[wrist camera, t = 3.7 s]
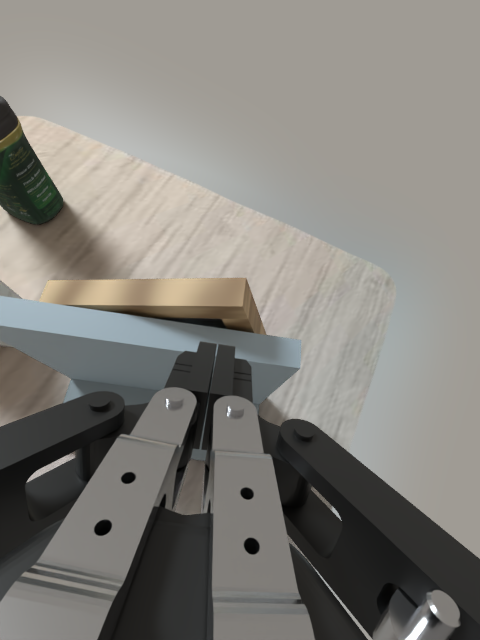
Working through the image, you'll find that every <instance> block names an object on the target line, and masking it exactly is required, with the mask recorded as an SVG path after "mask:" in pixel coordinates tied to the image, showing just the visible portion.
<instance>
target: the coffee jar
mask: <svg viewBox="0 0 480 640" xmlns="http://www.w3.org/2000/svg"><path fill="white" fill-rule="evenodd" d="M0 205H1V206H2V207H3V209H4V210H5V211H7V212H8V213H10V214H11V215H13V216H15V217H17V218H19V219H21V220H23V221H26V222H28V223H32V224H42V223H45V222H47V221H49V220H51V219H52V218H53V217H54V216H56V215H57V214H58V212H59V211H60V210H61V208H62V206H63V198H62V196H61V194H60V193H59V191H58V189H57V188H56V186H55V184H54V183H53V181H52V180H51V178H50V177H49V175H48V173H47V172H46V170H45V169H44V167H43V165H42V164H41V162H40V160H39V159H38V157H37V156H36V154H35V152H34V151H33V149H32V147H31V146H30V144H29V142H28V140H27V139H26V137H25V135H24V132H23V130H22V127H21V124H20V122H19V119H18V118H17V116H16V115H15V113H14V112H13V110H12V109H11V108H10V106H9V104H8V103H7V102H6V100H5V99H4V98H3V97H1V96H0Z"/></svg>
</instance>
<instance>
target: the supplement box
mask: <svg viewBox="0 0 480 640" xmlns="http://www.w3.org/2000/svg"><path fill="white" fill-rule="evenodd" d="M0 296H5V297H12V298H19V299H22V298H21V297H20V296H19V295H18V294H16V293H15V292H14V291H13V290H11V289H10V288H9V287H8V286H7V285H5V284H4V283H3V282H2V281H1V280H0ZM0 346H8V347H12V346H10V345H8V344H6V343H5V342H3V341H1V340H0Z"/></svg>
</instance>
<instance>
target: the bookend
mask: <svg viewBox="0 0 480 640" xmlns="http://www.w3.org/2000/svg"><path fill="white" fill-rule="evenodd" d="M0 340H1V341H3V342H5V343H6V344H8V345H10V346H12V347H14V348H16V349H18V350H19V351H21V352H23V353H25V354H27V355H29V356H30V357H32V358H34V359H36V360H38V361H40V362H42V363H43V364H45V365H47V366H49V367H51V368H53V369H54V370H56V371H58V372H60V373H62V374H64V375H65V376H67V377H69V378H71V381H70V384H69V387H68V390H67V393H66V396H65V399H64V402H63V403H65V402H67V401H70V400H73V399H75V398H78V397H81V396H83V395H86V394H89V393H92V392H97V391H109V392H114V393H117V394H119V395H120V396H121V397H122V398H123V399H124V402H125V405H138V404H144V403H148V402H150V401H151V399H152V397H153V396H154V394H155V393H156V392H158V391H160V390H162V389H164V387H165V385H166V382H167V380H168V378H169V375H170V373H171V371H172V368H173V366H174V364H175V361H176V359H177V356H178V355H180V354H181V353H183V352H184V351H191V352H197V349H198V346H199V342H200V341H202V342H209V343H216V344H217V348H216V355H217V350H218V344H223V345H229V346H235V358H238V359H245V360H247V361H248V363H249V364H250V366H251V368H252V395H253V405H254V406H255V408H256V410H257V414H258V413H259V404H260V403H261V402H262V401H264V400H265V399H266V398H267V397H268V396H269V395H270V394H272V393H273V392H274V391H275V390H276V389H277V388H278V387H280V386H281V385H282V384H283V383H284V382H285V381H286V380H287V379H289V378H290V377H291V376H292V375H293V374H294V373H295V372H297V371H298V370H299V369H300V361H301V340H297V339H290V338H283V337H277V336H270V335H263V334H256V333H249V332H243V331H236V330H229V329H222V328H215V327H209V326H202V325H195V324H188V323H181V322H175V321H168V320H161V319H154V318H148V317H141V316H134V315H127V314H120V313H114V312H107V311H100V310H93V309H86V308H80V307H73V306H66V305H59V304H52V303H46V302H39V301H32V300H25V299H19V298H12V297H5V296H0ZM216 355H215V361H216ZM215 361H214V366H215ZM213 372H214V368H213ZM212 377H213V375H212ZM211 383H212V381H211ZM210 388H211V387H210ZM209 394H210V393H209ZM208 401H209V399H208ZM207 407H208V404H207ZM206 414H207V410H206ZM205 421H206V415H205ZM205 421H204V426H203V431H202V437H201V442H200V448H199V449H193V451H192V456H191V459H195V460H203V461H205V459H206V452H207V450H201V448H202V441H203V434H204V427H205Z"/></svg>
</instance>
